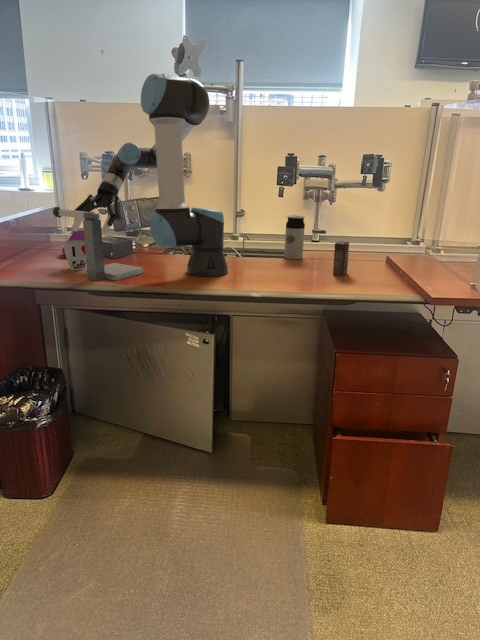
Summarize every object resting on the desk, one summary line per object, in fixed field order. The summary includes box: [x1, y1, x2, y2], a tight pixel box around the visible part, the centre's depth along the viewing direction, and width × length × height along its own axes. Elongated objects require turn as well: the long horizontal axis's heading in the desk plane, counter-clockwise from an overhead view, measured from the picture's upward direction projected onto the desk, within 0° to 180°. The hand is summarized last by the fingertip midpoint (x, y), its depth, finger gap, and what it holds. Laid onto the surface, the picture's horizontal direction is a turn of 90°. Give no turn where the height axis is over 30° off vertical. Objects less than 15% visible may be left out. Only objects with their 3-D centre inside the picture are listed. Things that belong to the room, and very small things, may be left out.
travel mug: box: [283, 214, 306, 261], centre depth 199 cm, size 8×8×18 cm
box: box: [332, 240, 350, 277], centre depth 173 cm, size 6×4×12 cm
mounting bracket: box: [61, 229, 85, 259], centre depth 197 cm, size 10×8×18 cm
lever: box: [52, 206, 101, 220], centre depth 155 cm, size 20×5×4 cm, turn 60°
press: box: [82, 219, 144, 282], centre depth 161 cm, size 14×18×20 cm
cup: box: [63, 240, 87, 271], centre depth 170 cm, size 8×8×10 cm
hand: (88, 230), depth 176 cm, fingers open, 13 cm apart
